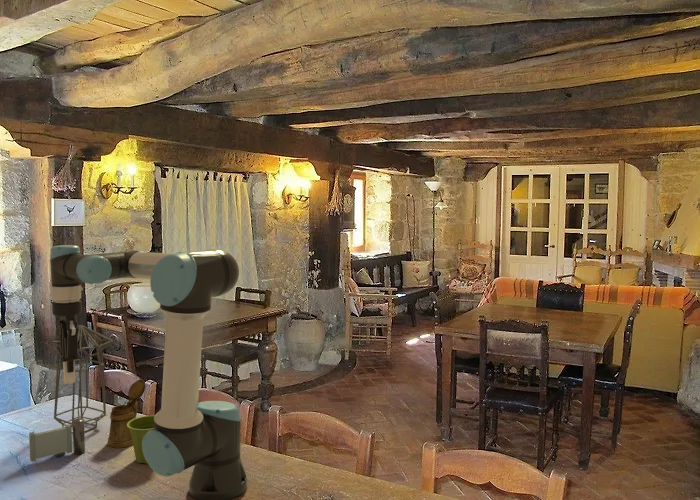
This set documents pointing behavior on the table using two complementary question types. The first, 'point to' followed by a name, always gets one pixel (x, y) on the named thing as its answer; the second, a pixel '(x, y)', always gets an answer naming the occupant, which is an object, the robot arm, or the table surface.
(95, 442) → the table surface
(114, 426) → the wooden mug
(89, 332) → the geometric lantern
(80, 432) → the hinge post
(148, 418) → the plant pot
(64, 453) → the block
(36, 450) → the grey-green flanged panel
